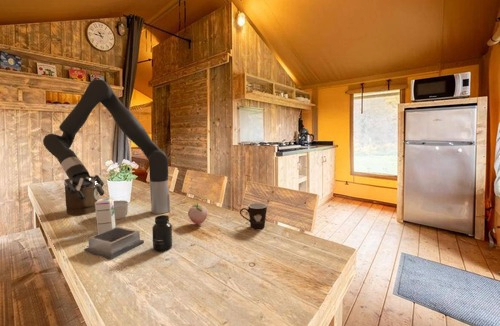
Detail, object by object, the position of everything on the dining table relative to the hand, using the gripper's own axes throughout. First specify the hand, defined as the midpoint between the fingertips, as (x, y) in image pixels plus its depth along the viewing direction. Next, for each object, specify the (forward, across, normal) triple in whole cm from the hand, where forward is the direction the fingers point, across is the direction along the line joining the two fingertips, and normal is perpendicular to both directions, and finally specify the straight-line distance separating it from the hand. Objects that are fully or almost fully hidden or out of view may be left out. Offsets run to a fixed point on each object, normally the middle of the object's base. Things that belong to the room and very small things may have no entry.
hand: (93, 196), depth 108 cm
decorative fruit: (+37, +24, -16) cm, 47 cm away
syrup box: (+16, 0, +6) cm, 17 cm away
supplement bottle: (+39, -1, -18) cm, 43 cm away
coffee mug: (+55, +33, -34) cm, 72 cm away
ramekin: (+5, +15, +16) cm, 23 cm away
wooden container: (-12, +14, +33) cm, 38 cm away
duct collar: (+27, -8, -6) cm, 29 cm away
